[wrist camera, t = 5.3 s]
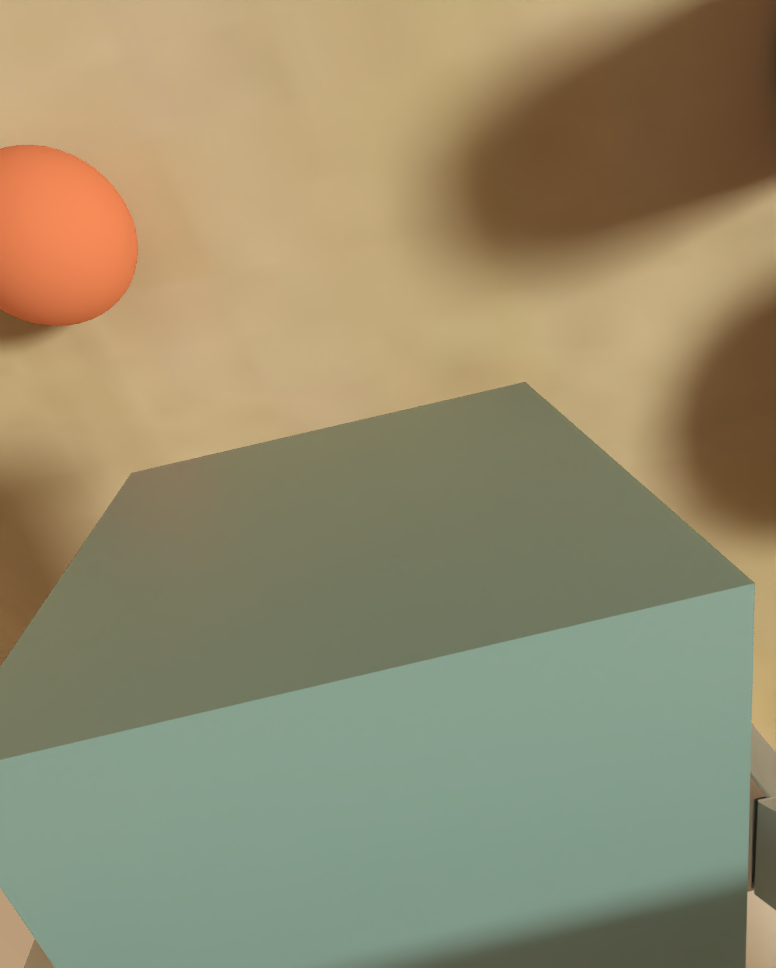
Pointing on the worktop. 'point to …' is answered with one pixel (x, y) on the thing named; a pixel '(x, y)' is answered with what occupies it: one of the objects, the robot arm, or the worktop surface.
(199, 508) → the teal eraser-like brick
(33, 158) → the ball
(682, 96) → the worktop surface
